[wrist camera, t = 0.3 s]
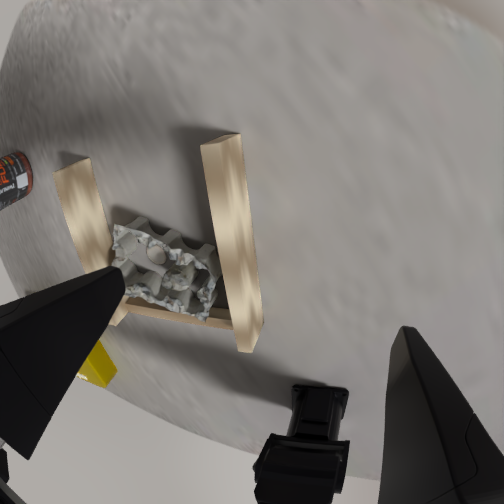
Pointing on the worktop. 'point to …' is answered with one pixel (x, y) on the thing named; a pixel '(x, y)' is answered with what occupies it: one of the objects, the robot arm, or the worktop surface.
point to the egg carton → (176, 278)
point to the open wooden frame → (225, 226)
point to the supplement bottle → (14, 179)
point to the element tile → (98, 367)
